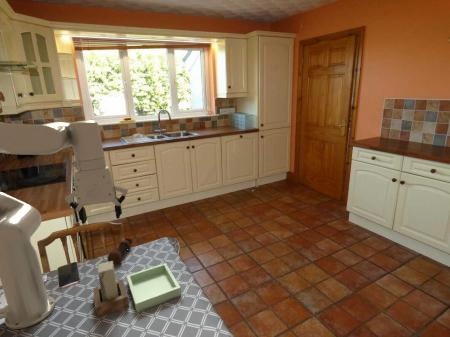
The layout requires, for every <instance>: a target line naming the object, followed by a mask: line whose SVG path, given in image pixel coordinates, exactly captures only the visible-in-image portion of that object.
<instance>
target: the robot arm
mask: <svg viewBox="0 0 450 337" xmlns="http://www.w3.org/2000/svg"><path fill="white" fill-rule="evenodd" d="M69 147H72V150H73V155H74V156H73V157H74V158H75V159H74V161H71V162H70V167H71V168H75V169H76V170H75V171H74V175H73V177H74V189H75V190H74V191H72V192H70V194H68V195H66V196H65V197H64V200H65V202H66V203H67V204H68V205H69V207H71V208H72V209H74V210H75V212H77V214H78V218H79V221H81V224H82V225H84V224H86V223H87V220H88V215H87V211H86V208H85V206H91V205H99V204H107V203H110V202H112V203H113V204H114V211H115V218H116V219H118V220H119V219H120V217H121V215H122V214H123V210H122V205H121V204H122V203H123V201H124V200H125V199H126V197H127V194H128V191H129V189H128V188H127V187H126V188H125V187H123V186H120V185H117V184H115V182H114V177H113V175H112V172H111V170H110V167H109V165H108V166H107V164H106V159H105V153H104V152H105V151H104V148H103V142H102V135H101V130H100V125H99V123H98V122H97V121H96V120H79V121H78V120H77V121H73V122H72V121H71V122H69V121H68V122H64V121H55V122H54V121H53V122H48V123H44V124H31V123H30V124H29V123H28V124H27V123H26V124H24V123H23V124H22V123H9V122H8V123H7V122H3V121H0V153H1V154H6V155H7V154H8V155H10V154H11V155H22V156H23V155H24V156H25V155H26V156H27V155H30V156H31V155H33V156H35V155H41V156H42V155H45V156H46V155H52V154H55V153H58V152H60V151H61V150H64V149H66V148H69ZM117 192H120V193H121V195H120V196H119V197H118V196H117ZM74 198H76V201H75V200H74ZM41 224H42V215H41V212H40V211H39V210H38V209H37V208H36V207H34V206H33V205H31V204H28V203H26V202H24V201H22V200H21V199H17V198H16V197H13V196H11V195H9V194H7V193H5V192H2V191H0V283H1V286H2V290H3V293H4V296H5V297H4V298H5V300H6V303H7V305H4V306H3V307H2V308H0V320H2V319H4V322H5V326H6V327H7V328H9V329H12V330H19V329H25V328H28V327H31V326H33V325H37V323H39V322H42V321H43V320H45V319H46V318H47V317H48V316H50V314H51V313H52V312H53V310H54V309H55V307H56V301H55V298H54V297H53V296H50V295H48V293H47V289H46V286H45V285H46V284H45V280H44V277H43V273H42V269H41V265H40V264H41V263H40V261H39V260H40V259H39V256H38V254H37V250H36V249H35V247H34V246H33V244H32V240H31V238H32V237H33V235H34V234H35V233H36V231H38V229H39V227H40V226H41Z"/></svg>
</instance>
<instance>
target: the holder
mask: <svg viewBox="0 0 450 337" xmlns="http://www.w3.org/2000/svg"><path fill="white" fill-rule="evenodd" d="M116 283H117V290H118V294H120V295H118V297H116V298H113V299H110V300H107V301H105V302H103V301H101V299H102V294H101V288H100V285H99V286H96V287H93V299H94V306H95V313H96V316H97V319H99V318H101V317H104V316H106V315H110V314H112V313H115V312H118V311H121V310H123V309H126V308H128V307H130V303H129V296H128V293H127V289H126V286H125V283H124V279H123V278H121V279H117V280H116Z"/></svg>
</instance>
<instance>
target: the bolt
mask: <svg viewBox="0 0 450 337" xmlns="http://www.w3.org/2000/svg"><path fill="white" fill-rule="evenodd" d="M132 244H133V240H132V239H130V238H126V239H124V240H121V241H120V243H119V245H118V248H117V249H116V250H115V251H110V252H109V254H108V256H107V259H106V260H107V262H110V261H113V264H114V266H117V265H120V264H121V263H122V260H123V259H124V258H123V257H124V254H125V252H128V251H129V250H130V249H131V247H132ZM127 249H128V250H127Z"/></svg>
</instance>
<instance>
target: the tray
mask: <svg viewBox="0 0 450 337" xmlns="http://www.w3.org/2000/svg"><path fill="white" fill-rule="evenodd" d="M125 276H126V282H127V287H128V289H129V291H130V292H129V293H130V296H131V298H132V302H133V304H134V309H135V311H136V313H139V312H142V311H145V310H147V309H151V308H152V307H155V306H157V305H160V304H162V303H163V304H164V303H165V302H169V301H171V300H173V299H176V298H178V297H182V288H181V286H180V284H179V282H178V280H177V279H176V278H175V276H174V273H172V271H171V268H169V266H168V264H167V263H166V262H165V263H161V264H158V265H155V266H151V267H149V268H146V269H143V270H140V271H136V272H133V273H131V274H127V275H125Z"/></svg>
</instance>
